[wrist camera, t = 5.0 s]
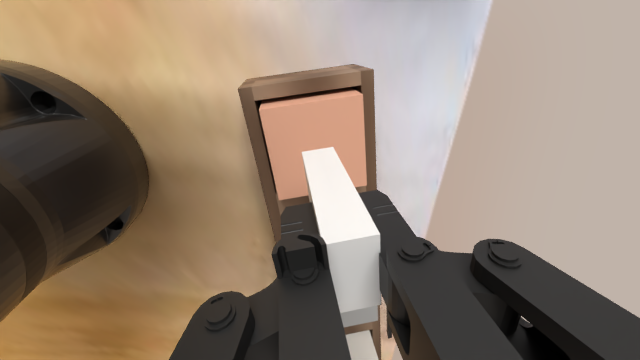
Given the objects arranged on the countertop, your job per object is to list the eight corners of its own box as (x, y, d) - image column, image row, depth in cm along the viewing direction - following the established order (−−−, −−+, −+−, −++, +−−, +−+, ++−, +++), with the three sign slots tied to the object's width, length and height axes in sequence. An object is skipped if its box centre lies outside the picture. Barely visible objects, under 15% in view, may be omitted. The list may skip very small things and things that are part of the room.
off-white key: (317, 357, 32) (323, 407, 28) (310, 325, 29) (315, 375, 25) (366, 347, 32) (380, 395, 28) (364, 314, 30) (379, 361, 25)
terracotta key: (279, 169, 22) (279, 200, 18) (263, 95, 20) (258, 109, 15) (350, 157, 23) (366, 185, 18) (344, 83, 20) (362, 94, 16)
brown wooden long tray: (307, 340, 35) (310, 383, 31) (247, 79, 20) (237, 88, 16) (368, 327, 36) (381, 368, 31) (353, 64, 21) (373, 69, 16)
